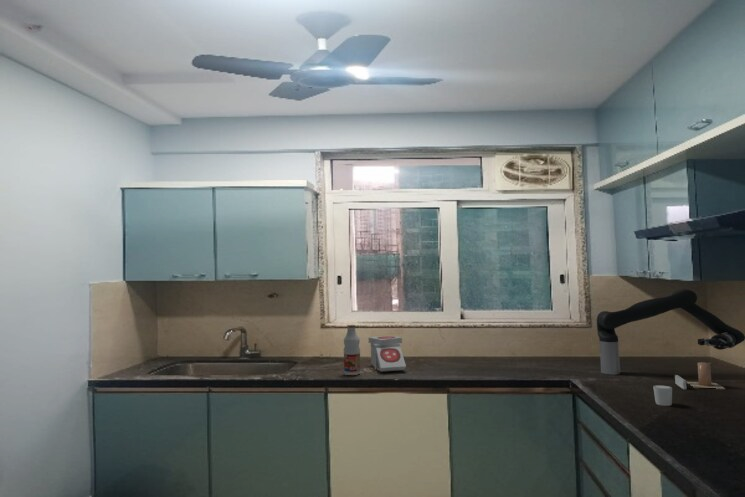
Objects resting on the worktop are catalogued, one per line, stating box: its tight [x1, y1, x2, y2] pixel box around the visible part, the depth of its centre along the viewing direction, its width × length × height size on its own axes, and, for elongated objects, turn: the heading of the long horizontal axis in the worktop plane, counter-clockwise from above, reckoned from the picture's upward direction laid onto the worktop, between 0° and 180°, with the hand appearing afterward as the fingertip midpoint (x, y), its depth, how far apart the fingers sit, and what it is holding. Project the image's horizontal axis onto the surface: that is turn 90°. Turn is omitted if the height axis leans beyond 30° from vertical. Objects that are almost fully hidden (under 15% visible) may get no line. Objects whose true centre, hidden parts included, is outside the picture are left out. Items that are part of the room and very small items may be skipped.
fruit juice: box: [343, 324, 361, 373], centre depth 274 cm, size 9×9×28 cm
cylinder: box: [697, 361, 712, 386], centre depth 227 cm, size 5×5×10 cm
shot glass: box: [653, 384, 673, 407], centre depth 199 cm, size 7×7×7 cm
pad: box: [686, 381, 726, 390], centre depth 226 cm, size 12×12×1 cm
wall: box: [674, 374, 688, 390], centre depth 227 cm, size 12×1×4 cm, turn 163°
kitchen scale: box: [368, 334, 407, 372], centre depth 287 cm, size 19×30×18 cm, turn 12°
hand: (710, 344), depth 234 cm, fingers open, 8 cm apart
